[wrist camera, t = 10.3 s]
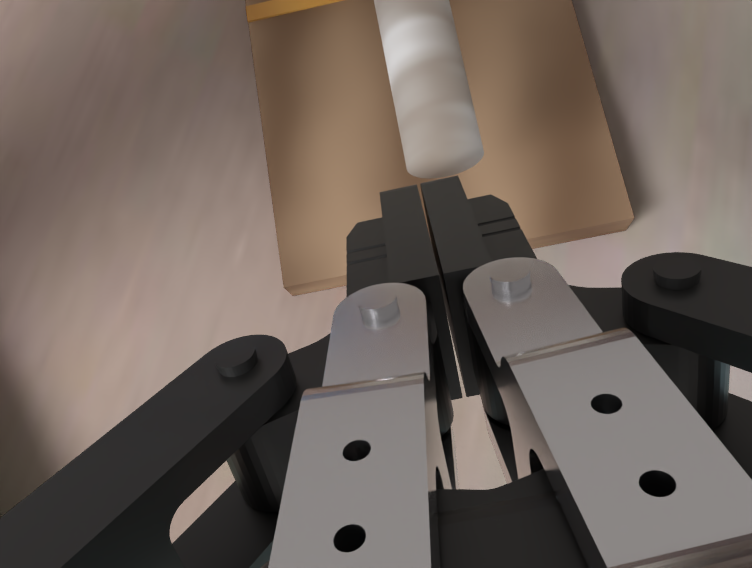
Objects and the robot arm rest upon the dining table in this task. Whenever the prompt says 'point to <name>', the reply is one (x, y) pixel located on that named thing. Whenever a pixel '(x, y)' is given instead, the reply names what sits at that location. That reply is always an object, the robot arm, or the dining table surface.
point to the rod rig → (427, 119)
